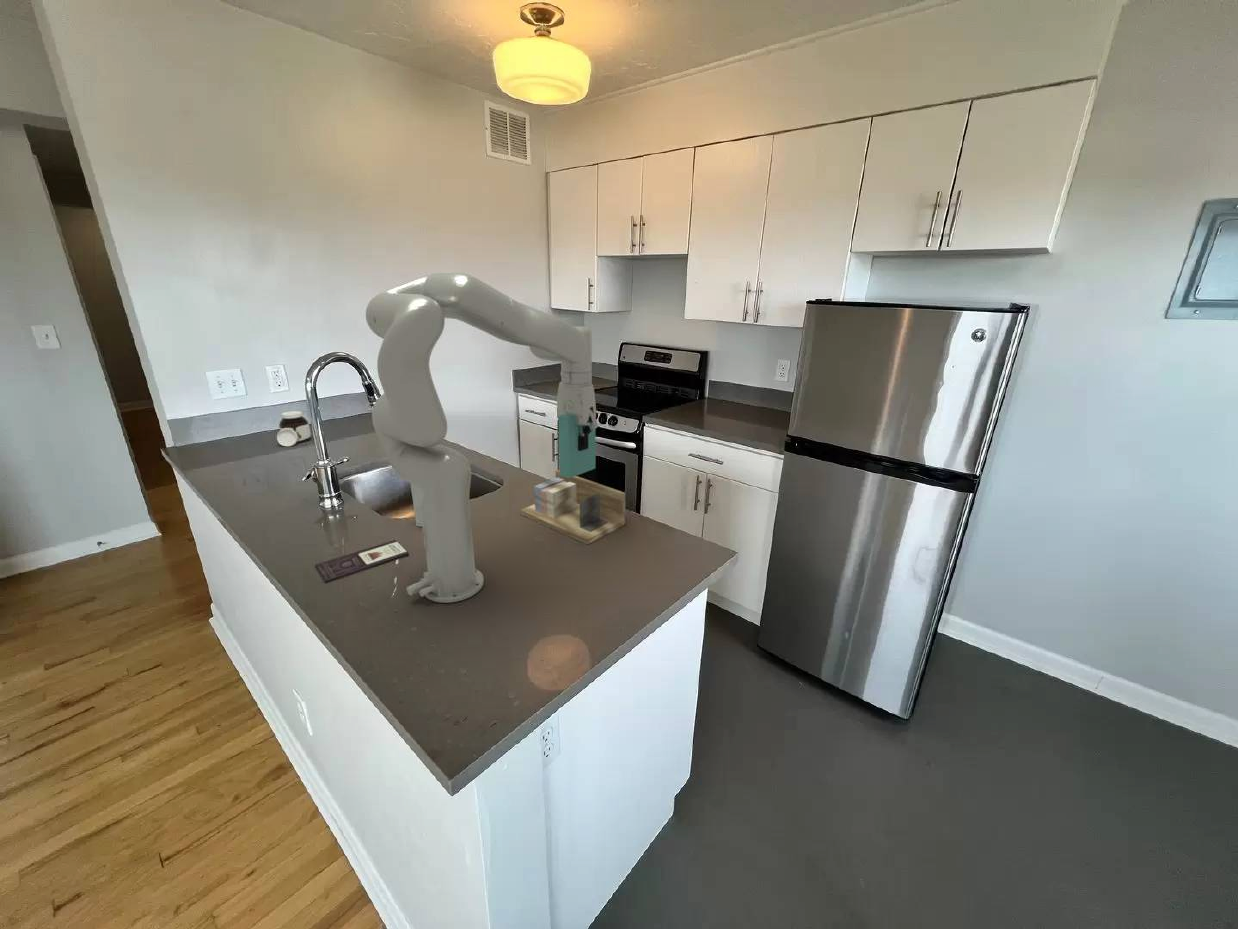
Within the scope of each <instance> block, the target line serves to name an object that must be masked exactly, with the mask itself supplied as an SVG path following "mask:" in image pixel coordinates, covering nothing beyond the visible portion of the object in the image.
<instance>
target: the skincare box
mask: <svg viewBox="0 0 1238 929" xmlns="http://www.w3.org/2000/svg"><path fill="white" fill-rule="evenodd" d="M409 484H410V490H411V497H412V504H413V512H414V518H415V525H416V527H422V522H421V506H422V502H423V498H424V492H423V490H422V489H421V488H419V487H417V486H415V485H413V484H411V483H409Z"/></svg>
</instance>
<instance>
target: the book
mask: <svg viewBox="0 0 1238 929" xmlns="http://www.w3.org/2000/svg"><path fill="white" fill-rule="evenodd" d="M557 422H558V454H559V455H558V457H559V458H558V460H559V462H558V463H559V464H558V466H559V470H560V475H561V476H564V477H567V478H572V477H574V476H579V475H582V474H584V473H587V472H590V471H592V470H595V469H596V428H595V429H593V430H592V431H591V432H590V434H589V435H588V449H585V450H582V451H579V450H578V436H580V432H579V425H575V424H574V416H570V415H566V414H562V415H558V418H557ZM589 424H590V422H589ZM584 429H585V426H584Z"/></svg>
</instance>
